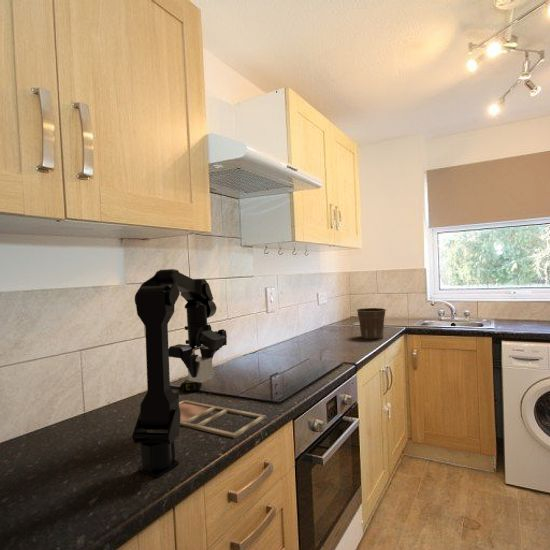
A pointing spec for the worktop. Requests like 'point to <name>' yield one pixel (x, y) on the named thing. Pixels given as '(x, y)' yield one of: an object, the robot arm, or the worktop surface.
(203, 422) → the rectangular frame with crossbars
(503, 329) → the worktop surface
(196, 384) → the tape measure
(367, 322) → the plant pot
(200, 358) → the metal block
